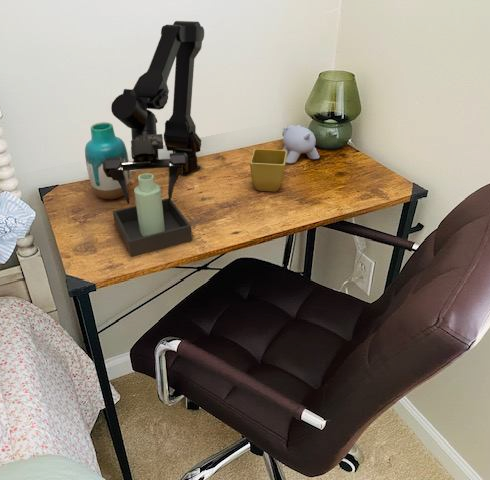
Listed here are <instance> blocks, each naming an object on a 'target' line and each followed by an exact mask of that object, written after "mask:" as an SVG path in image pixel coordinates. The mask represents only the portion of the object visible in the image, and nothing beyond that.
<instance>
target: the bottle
mask: <svg viewBox="0 0 490 480" xmlns="http://www.w3.org/2000/svg"><path fill="white" fill-rule="evenodd" d="M137 181H138V185H136V186H135V187H134V189H133V192H134V193H133V194H134V201H135V206H136V208H137V215H138V222H139V229H140V233H141V235H142V236H148V235H152V234H156V233H160V232H163V231H165V226H164V216H163V207H162V200H163V198H162V188H161V185H159V184H158V183H155V176H154V174H152V173H150V172H146V173H145V172H144V173H141V174H139V175H138V176H137Z"/></svg>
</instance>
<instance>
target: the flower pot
mask: <svg viewBox="0 0 490 480" xmlns="http://www.w3.org/2000/svg"><path fill="white" fill-rule="evenodd" d="M286 156H287V150H283V149H270V148H269V149H268V148H267V149H266V148H254V149H253V150H252V155H251V159H250V161H249V167H250V178H251V182H252V184H253V186H254V188H255V189H256V191H258V192H272V193H274V192H275V193H276V192H278V190H279V189H280V188H281V185H282V183H283V180H284V174H285V169H286V164H287V162H286Z"/></svg>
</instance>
